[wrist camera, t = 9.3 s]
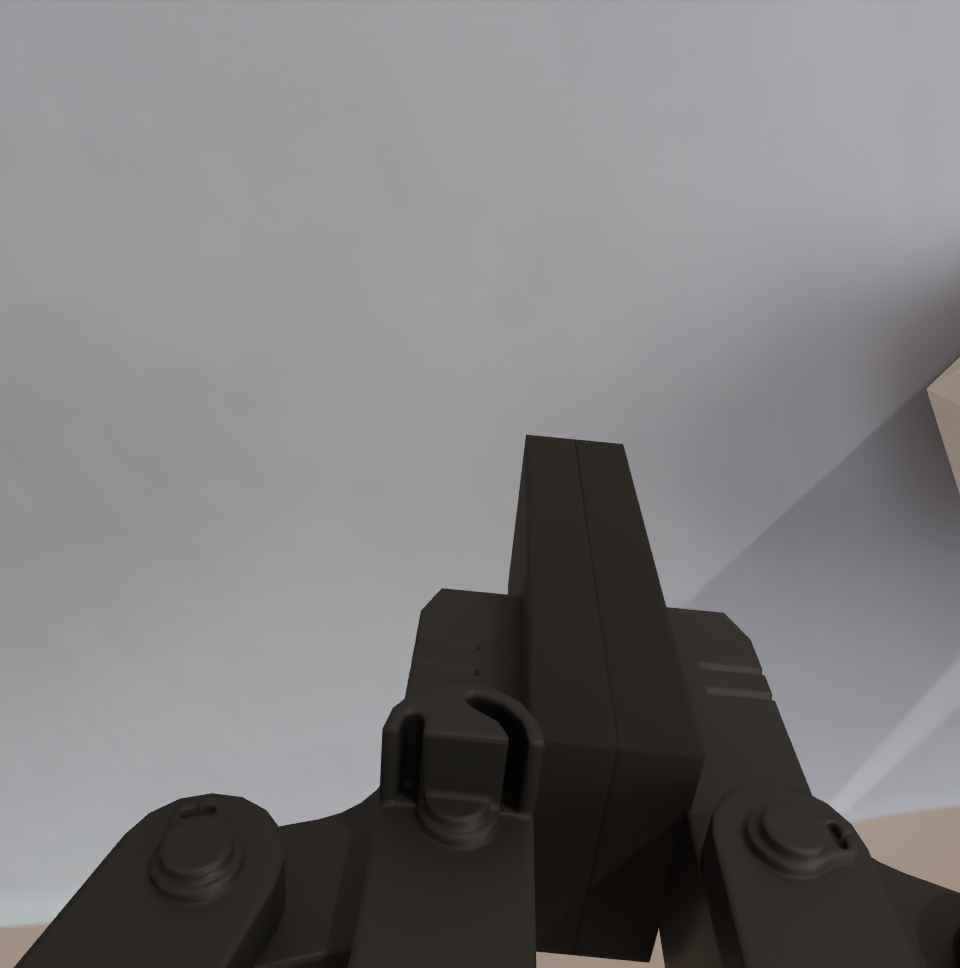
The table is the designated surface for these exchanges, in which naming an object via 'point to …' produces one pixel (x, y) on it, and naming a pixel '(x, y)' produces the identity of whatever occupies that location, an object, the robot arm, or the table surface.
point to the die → (948, 413)
